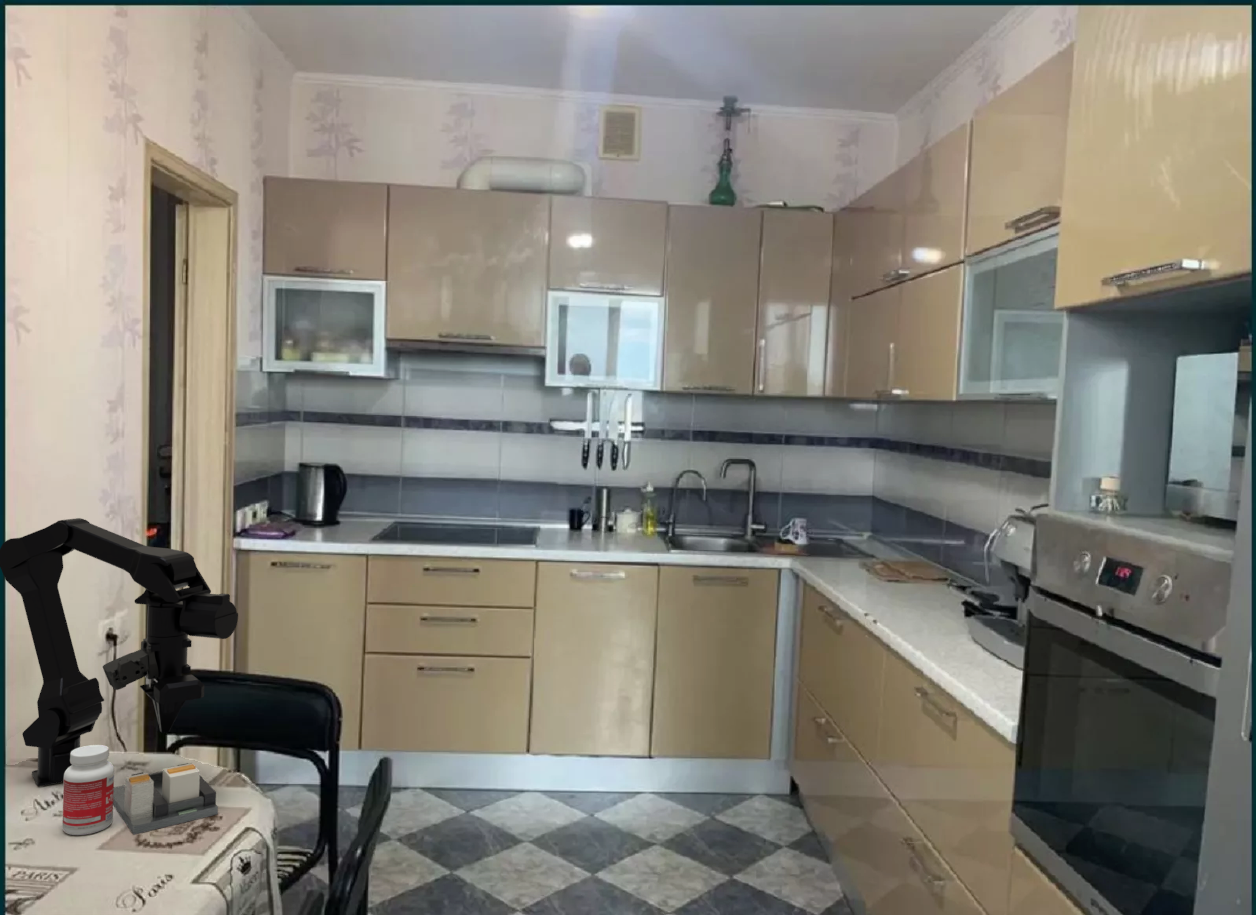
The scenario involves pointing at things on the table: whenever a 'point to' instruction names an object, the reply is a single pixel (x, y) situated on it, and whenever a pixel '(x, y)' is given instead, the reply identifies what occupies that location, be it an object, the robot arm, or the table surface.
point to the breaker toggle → (180, 783)
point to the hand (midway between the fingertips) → (164, 731)
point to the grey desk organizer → (159, 803)
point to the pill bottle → (88, 791)
